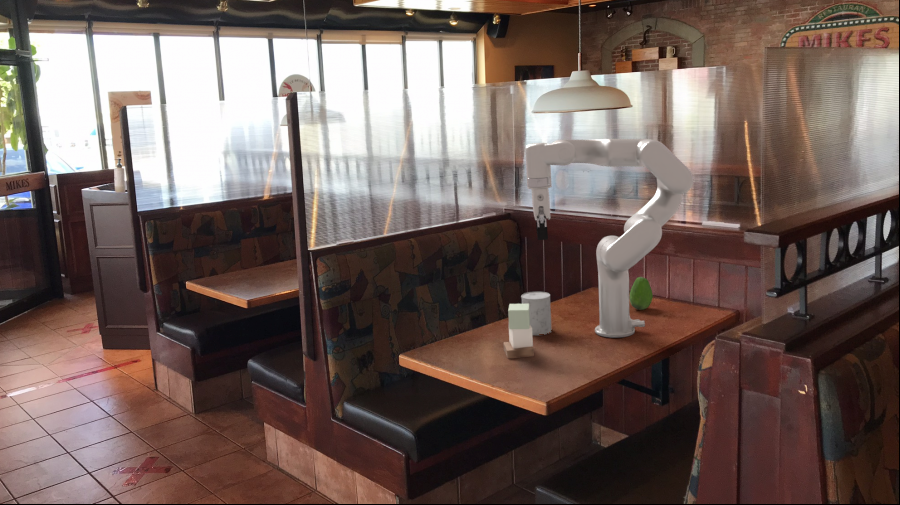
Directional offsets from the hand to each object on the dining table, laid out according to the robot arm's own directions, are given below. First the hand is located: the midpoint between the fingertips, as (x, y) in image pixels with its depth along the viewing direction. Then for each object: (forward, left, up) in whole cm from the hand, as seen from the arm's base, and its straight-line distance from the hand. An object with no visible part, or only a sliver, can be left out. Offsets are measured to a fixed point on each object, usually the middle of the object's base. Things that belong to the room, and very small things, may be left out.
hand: (542, 236), depth 230 cm
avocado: (-34, -27, -33) cm, 55 cm away
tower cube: (+8, +14, -31) cm, 35 cm away
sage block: (+8, +15, -24) cm, 30 cm away
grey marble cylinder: (+3, -6, -33) cm, 34 cm away
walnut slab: (+9, +15, -34) cm, 38 cm away
